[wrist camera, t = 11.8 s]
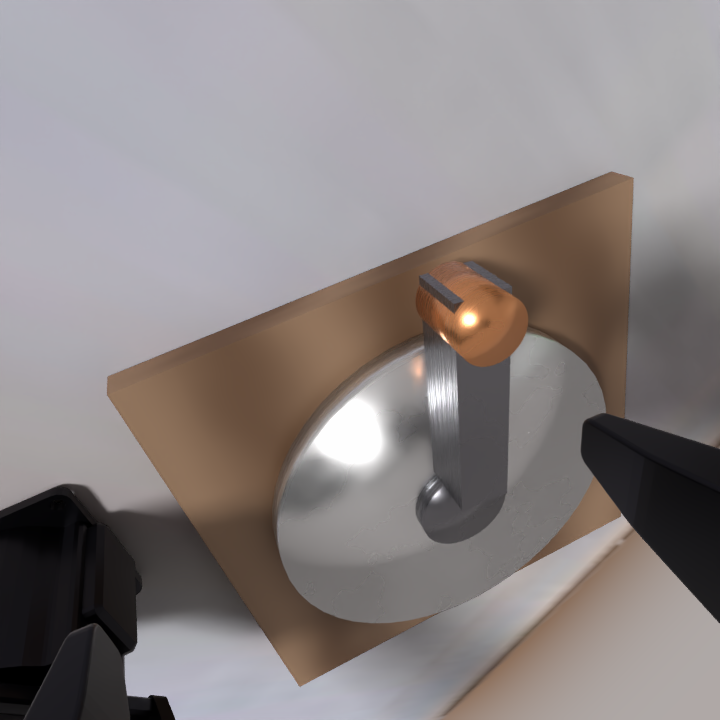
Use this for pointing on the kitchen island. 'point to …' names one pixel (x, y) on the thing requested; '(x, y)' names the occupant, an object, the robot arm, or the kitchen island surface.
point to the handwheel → (437, 459)
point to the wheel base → (339, 361)
